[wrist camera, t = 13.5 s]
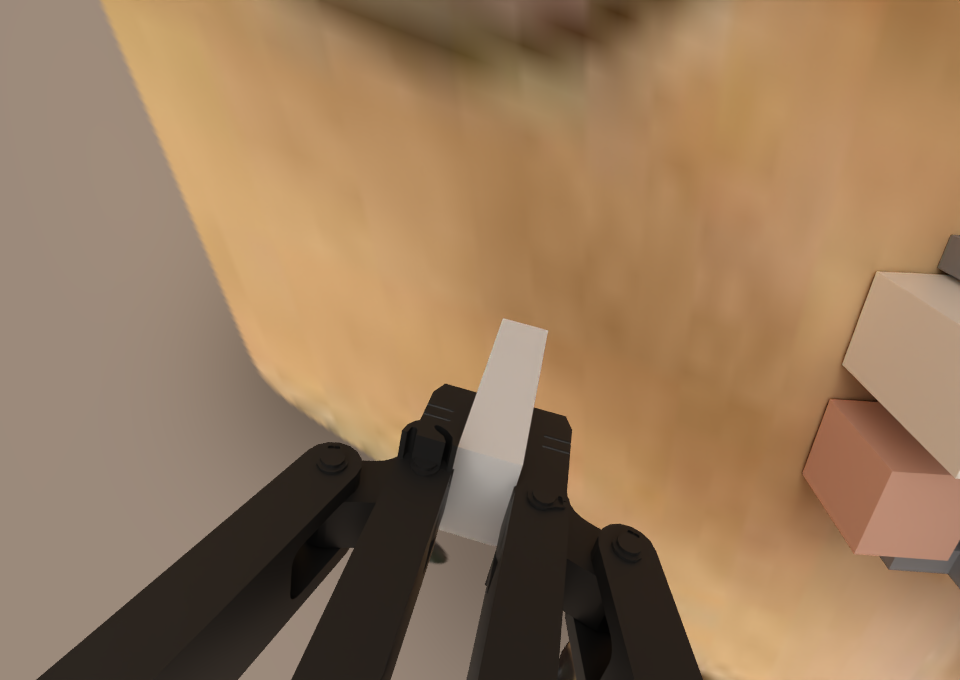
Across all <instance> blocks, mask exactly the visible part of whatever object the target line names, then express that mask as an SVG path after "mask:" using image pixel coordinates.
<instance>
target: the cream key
mask: <svg viewBox="0 0 960 680" xmlns="http://www.w3.org/2000/svg"><path fill="white" fill-rule="evenodd" d="M842 365H843V366H844V367H845V368H846V369H847V370H848V371H849V372H850V373H851V374H852V375H853V376H854V377H855V378H856V379H857V380H858V381H859V382H860V383H861V384H862V385H863V386H864V387H865V388H866V389H867V390H868V391H869V392H870V393H871V394H872V395H873V396H874V397H875V398H876V399H877V400H878V401H879V402H880V403H881V404H882V405H883V406H884V407H885V408H886V409H887V410H888V411H889V412H890V413H891V414H892V415H893V416H894V417H895V418H896V419H897V420H898V421H899V422H900V423H901V424H902V425H903V426H904V427H905V428H906V429H907V430H908V431H909V433H910V434H911V435H912V436H913V437H914V438H915V439H916V440H917V441H918V442H919V443H920V444H921V445H922V446H923V447H924V448H925V449H926V450H927V451H928V452H929V453H930V454H931V455H932V456H933V457H934V458H935V459H936V460H937V461H938V462H939V463H940V464H941V465H942V466H943V467H944V468H945V469H946V470H947V471H948V472H949V473H950V474H951V475H952V476H953V477H954V478H955V479H960V280H959V279H957V278H955V277H953V276H952V275H940V274H920V273H901V272H881V271H877V272H876V274H875V277H874V280H873V282H872V285H871V288H870V291H869V293H868V296H867V299H866V301H865V304H864V307H863V309H862V312H861V315H860V318H859V320H858V323H857V326H856V328H855V331H854V334H853V336H852V339H851V342H850V345H849V347H848V350H847V353H846V355H845V358H844V361H843V363H842Z"/></svg>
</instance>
